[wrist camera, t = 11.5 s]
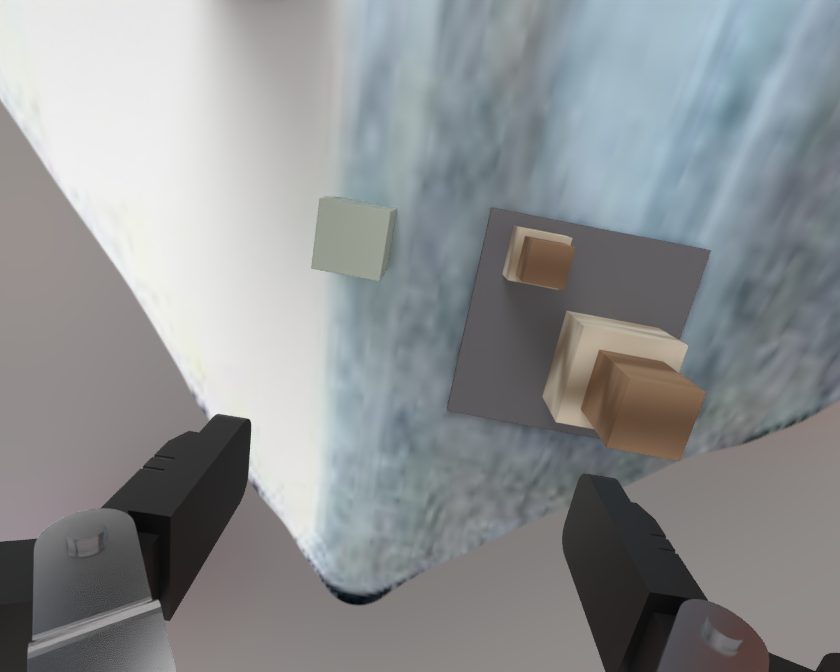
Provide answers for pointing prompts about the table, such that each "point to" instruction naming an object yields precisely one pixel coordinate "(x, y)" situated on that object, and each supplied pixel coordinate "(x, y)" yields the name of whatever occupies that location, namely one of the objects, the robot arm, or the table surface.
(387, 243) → the sage block
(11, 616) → the robot arm
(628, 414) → the walnut block
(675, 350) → the birch base block
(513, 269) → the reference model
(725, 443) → the table surface
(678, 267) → the charcoal mat
